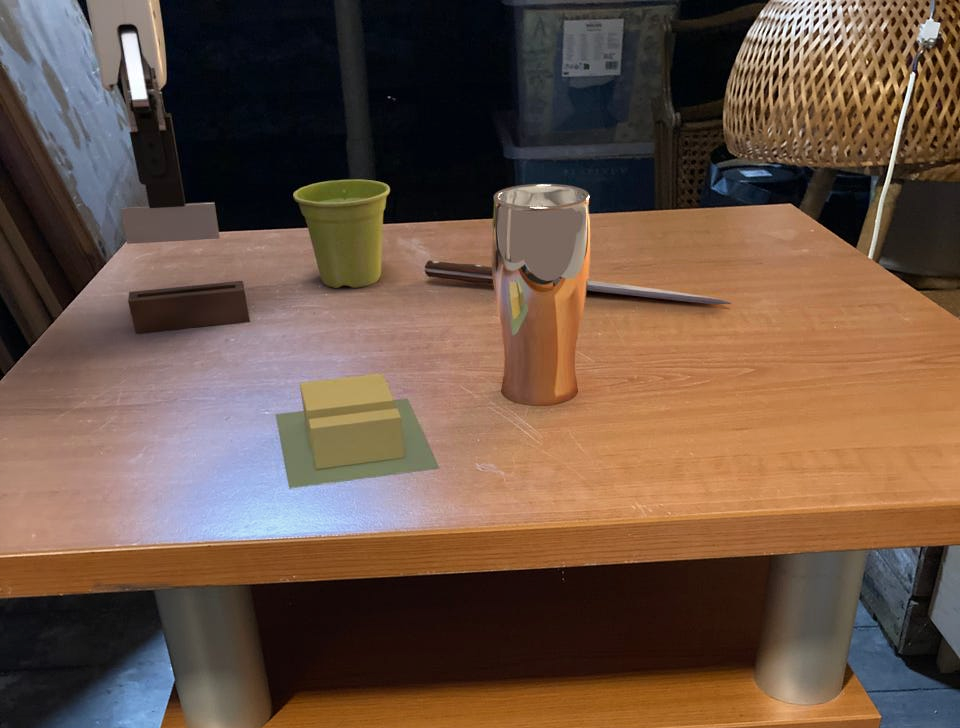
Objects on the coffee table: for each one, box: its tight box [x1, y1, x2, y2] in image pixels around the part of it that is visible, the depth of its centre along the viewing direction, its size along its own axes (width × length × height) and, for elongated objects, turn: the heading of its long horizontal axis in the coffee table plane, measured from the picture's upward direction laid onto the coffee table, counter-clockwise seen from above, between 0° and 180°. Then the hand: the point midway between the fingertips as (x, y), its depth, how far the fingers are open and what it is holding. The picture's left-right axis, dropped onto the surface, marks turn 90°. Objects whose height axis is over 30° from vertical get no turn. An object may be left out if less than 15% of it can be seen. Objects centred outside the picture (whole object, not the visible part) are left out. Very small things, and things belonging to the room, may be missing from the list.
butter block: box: [299, 372, 395, 451], centre depth 71 cm, size 6×5×3 cm
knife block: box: [127, 280, 251, 334], centre depth 93 cm, size 10×3×3 cm, turn 104°
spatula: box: [119, 112, 221, 245], centre depth 86 cm, size 8×2×10 cm, turn 103°
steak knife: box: [424, 260, 732, 305], centre depth 98 cm, size 5×31×2 cm, turn 71°
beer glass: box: [491, 183, 591, 407], centre depth 72 cm, size 7×7×15 cm
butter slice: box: [309, 408, 404, 469], centre depth 67 cm, size 6×2×3 cm, turn 103°
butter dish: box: [275, 397, 440, 490], centre depth 71 cm, size 10×12×1 cm
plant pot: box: [292, 178, 391, 289], centre depth 100 cm, size 9×9×9 cm
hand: (159, 178), depth 86 cm, fingers closed on spatula, 1 cm apart
